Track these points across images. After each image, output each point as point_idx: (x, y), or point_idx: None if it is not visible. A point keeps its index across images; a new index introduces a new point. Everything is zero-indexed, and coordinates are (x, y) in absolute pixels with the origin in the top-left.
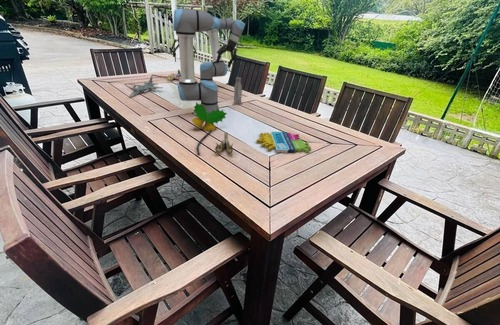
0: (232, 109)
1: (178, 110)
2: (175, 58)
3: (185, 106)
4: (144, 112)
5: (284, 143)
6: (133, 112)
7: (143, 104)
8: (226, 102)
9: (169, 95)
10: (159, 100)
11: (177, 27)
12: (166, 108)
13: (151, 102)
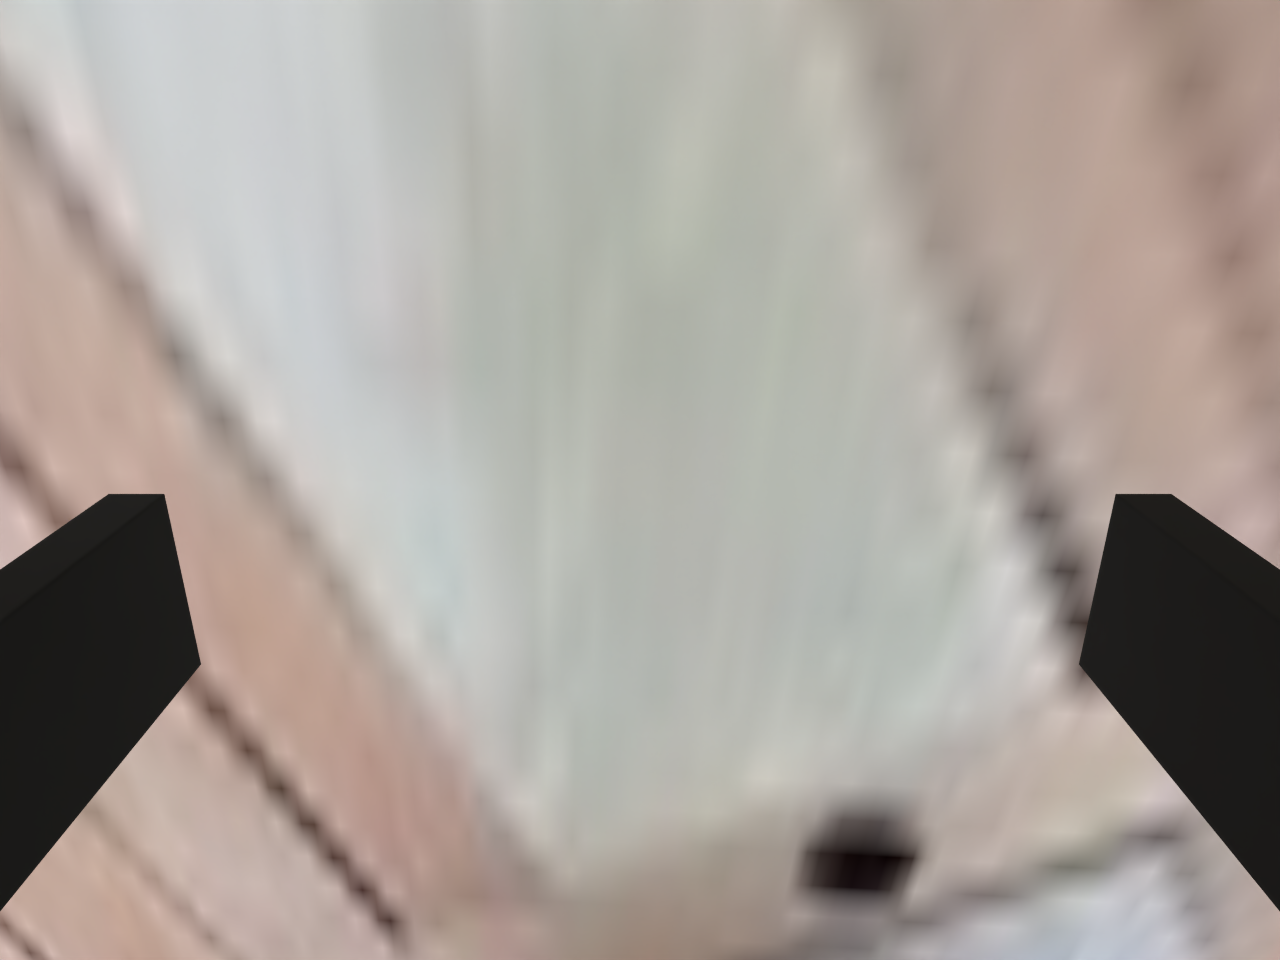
0: (1184, 933)
1: (507, 923)
2: (84, 783)
3: (598, 800)
4: (125, 954)
5: None
6: (3, 947)
7: None
8: None
9: (313, 205)
10: (191, 518)
11: None
12: (354, 853)
13: None
